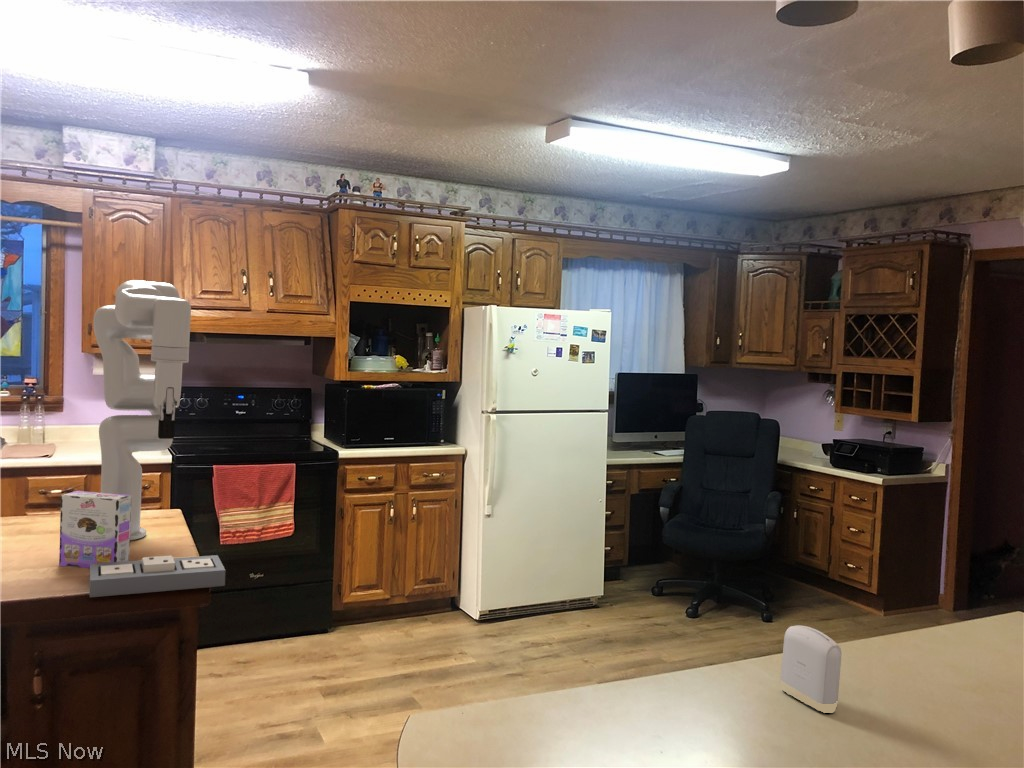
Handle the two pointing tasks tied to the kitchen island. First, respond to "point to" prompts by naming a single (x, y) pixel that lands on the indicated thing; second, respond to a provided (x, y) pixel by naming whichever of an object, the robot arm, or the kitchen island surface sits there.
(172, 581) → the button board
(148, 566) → the tile
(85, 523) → the candy box
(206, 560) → the tile
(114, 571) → the tile
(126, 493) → the robot arm
